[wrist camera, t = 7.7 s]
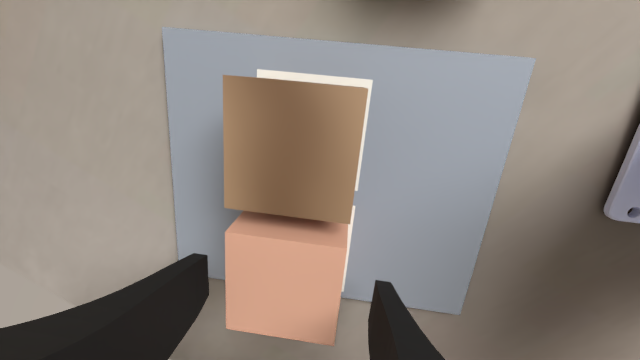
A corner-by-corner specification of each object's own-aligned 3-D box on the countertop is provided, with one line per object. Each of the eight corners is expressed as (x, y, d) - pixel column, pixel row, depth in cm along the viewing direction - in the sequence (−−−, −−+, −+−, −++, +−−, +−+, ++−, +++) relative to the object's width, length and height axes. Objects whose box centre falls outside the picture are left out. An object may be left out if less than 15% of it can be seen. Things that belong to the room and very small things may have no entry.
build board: (529, 59, 13) (536, 58, 12) (457, 308, 17) (460, 315, 16) (168, 28, 14) (161, 26, 13) (183, 268, 18) (179, 273, 17)
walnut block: (363, 87, 13) (368, 88, 9) (351, 183, 15) (350, 224, 10) (264, 77, 13) (222, 74, 9) (261, 172, 15) (224, 208, 11)
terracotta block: (349, 201, 15) (347, 248, 11) (339, 277, 16) (333, 346, 12) (261, 190, 15) (224, 232, 11) (258, 266, 17) (226, 328, 12)
